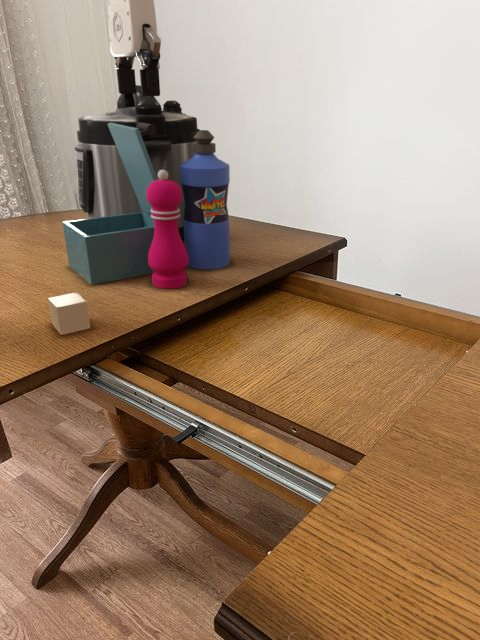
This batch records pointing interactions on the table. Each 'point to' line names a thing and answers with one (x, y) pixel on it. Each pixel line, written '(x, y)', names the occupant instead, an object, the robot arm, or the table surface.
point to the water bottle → (206, 205)
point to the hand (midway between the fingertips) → (139, 94)
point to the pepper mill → (166, 234)
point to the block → (69, 313)
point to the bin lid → (135, 157)
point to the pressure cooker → (106, 164)
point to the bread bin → (110, 246)
